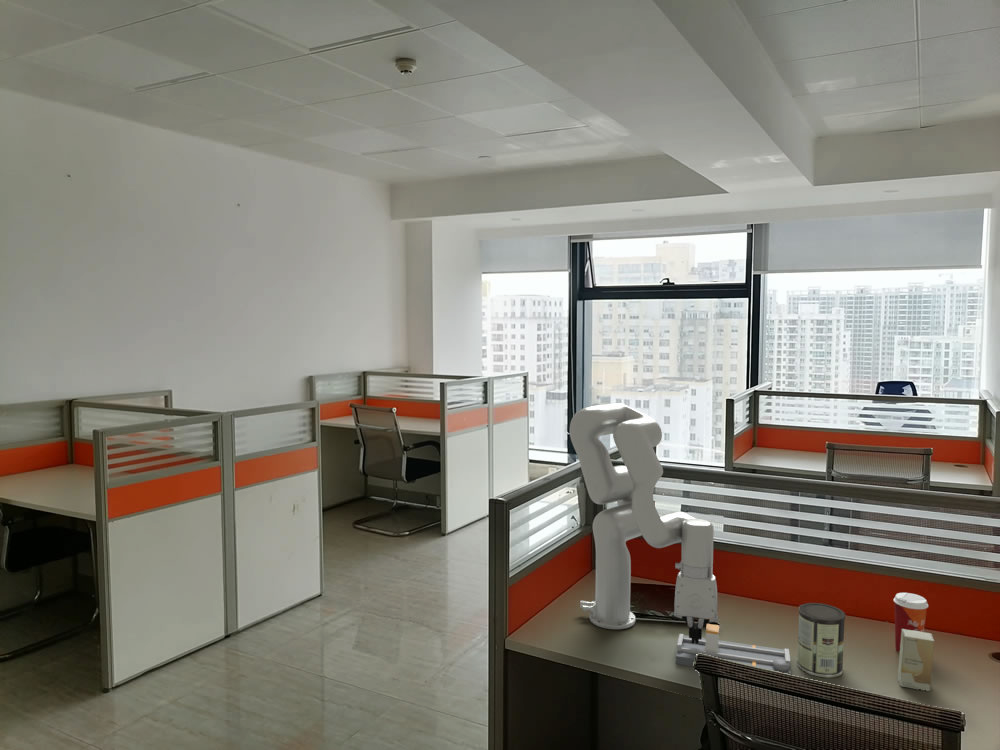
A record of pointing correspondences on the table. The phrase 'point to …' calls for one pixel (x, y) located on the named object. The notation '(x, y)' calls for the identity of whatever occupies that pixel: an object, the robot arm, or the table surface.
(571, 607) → the table surface
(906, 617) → the paper cup
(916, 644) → the skincare box
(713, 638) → the fader
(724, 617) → the table surface
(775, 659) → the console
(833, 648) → the coffee can
